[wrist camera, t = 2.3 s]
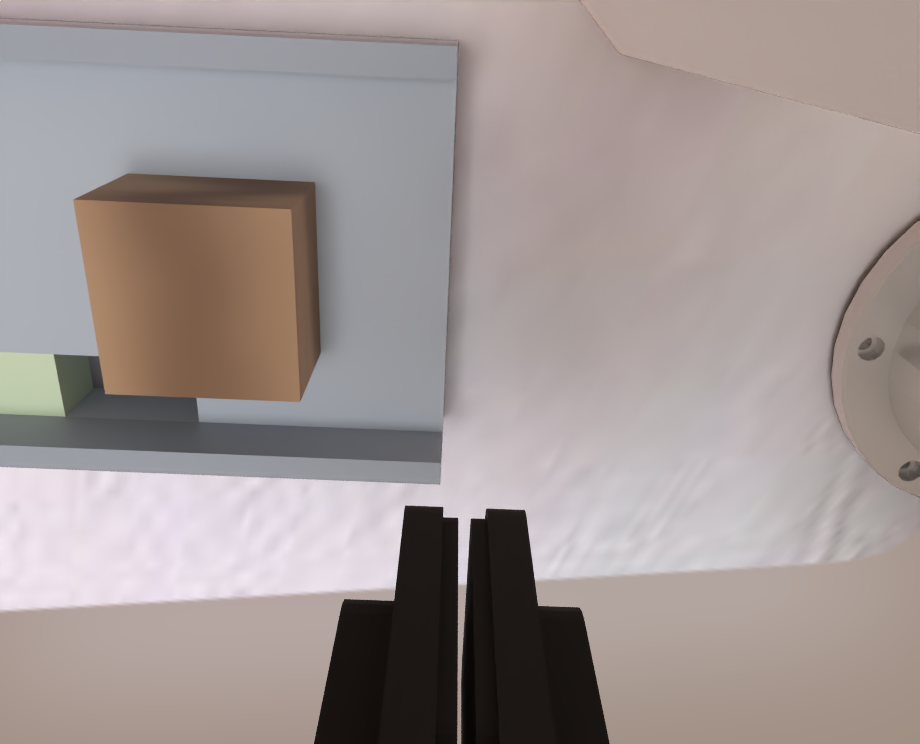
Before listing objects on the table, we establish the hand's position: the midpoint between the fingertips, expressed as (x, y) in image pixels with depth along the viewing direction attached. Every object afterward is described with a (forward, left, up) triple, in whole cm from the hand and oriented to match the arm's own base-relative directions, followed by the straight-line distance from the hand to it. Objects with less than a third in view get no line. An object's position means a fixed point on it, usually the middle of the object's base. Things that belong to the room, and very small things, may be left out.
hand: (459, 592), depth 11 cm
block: (+7, 0, -14) cm, 16 cm away
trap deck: (+12, 0, -17) cm, 20 cm away
